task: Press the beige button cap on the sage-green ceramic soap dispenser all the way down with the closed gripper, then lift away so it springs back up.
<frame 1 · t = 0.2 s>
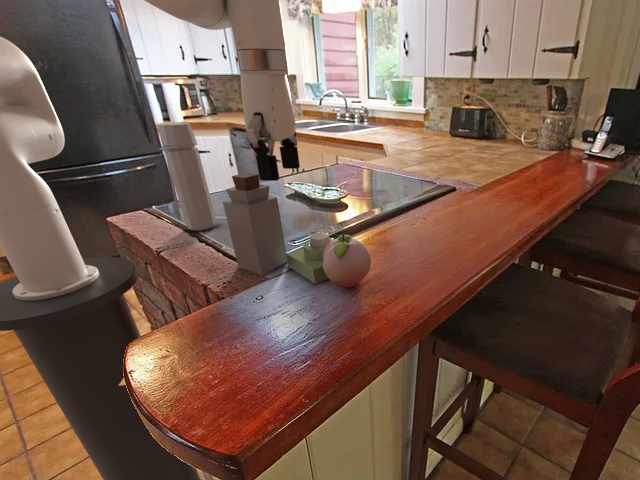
hand: (281, 173, 65), 18 cm above the counter, tool pointing down, fingers open, 9 cm apart
beige button cap: (320, 240, 69), point 6 cm above the counter, slide at 0.1 cm
perfume bottle: (263, 265, 73), on the counter
dispenser: (323, 266, 72), on the counter
water bottle: (199, 227, 94), on the counter
decorative fruit: (349, 287, 65), on the counter
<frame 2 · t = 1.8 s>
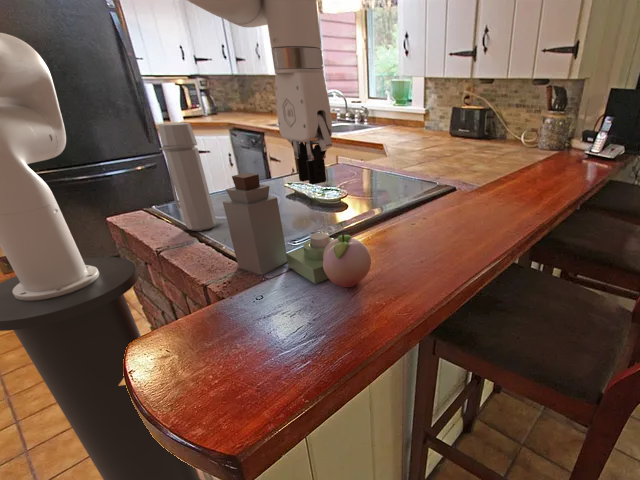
hand: (312, 180, 64), 17 cm above the counter, tool pointing down, fingers closed
nothing on the counter moved.
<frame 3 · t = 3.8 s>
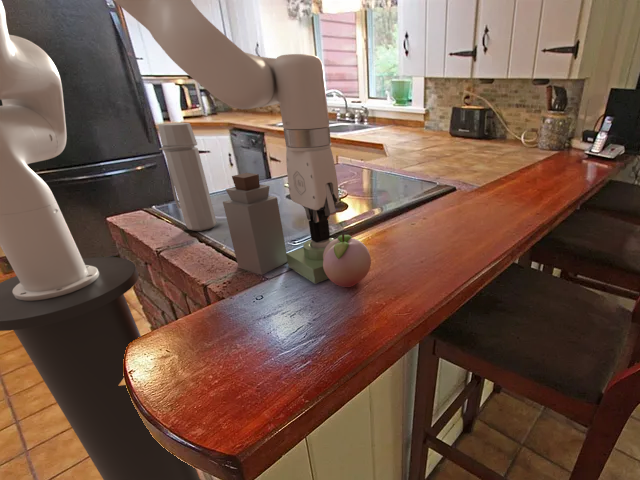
hand: (320, 239, 69), 6 cm above the counter, tool pointing down, fingers closed
beige button cap: (320, 244, 70), point 5 cm above the counter, slide at -0.7 cm, touching gripper
everything else where it was.
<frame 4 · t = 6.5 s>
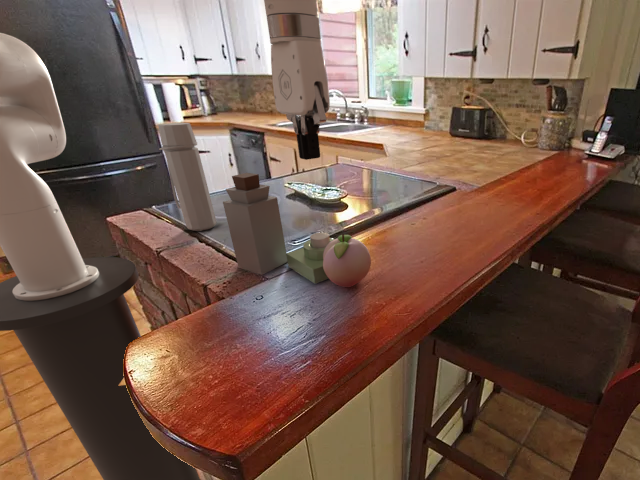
hand: (310, 157, 62), 21 cm above the counter, tool pointing down, fingers closed
beige button cap: (320, 240, 69), point 6 cm above the counter, slide at 0.1 cm
everything else where it was.
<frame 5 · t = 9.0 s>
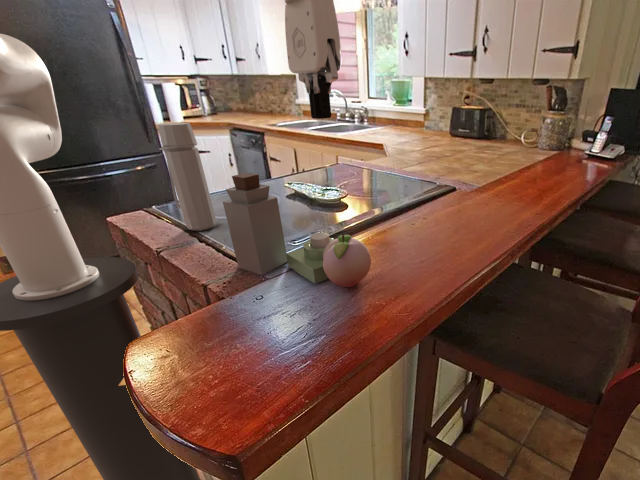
hand: (321, 117, 65), 27 cm above the counter, tool pointing down, fingers closed
nothing on the counter moved.
at the end: beige button cap pushed in 1.3 cm at the most during the clip, back to where it started at the end; beige button cap slide at 0.1 cm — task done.
